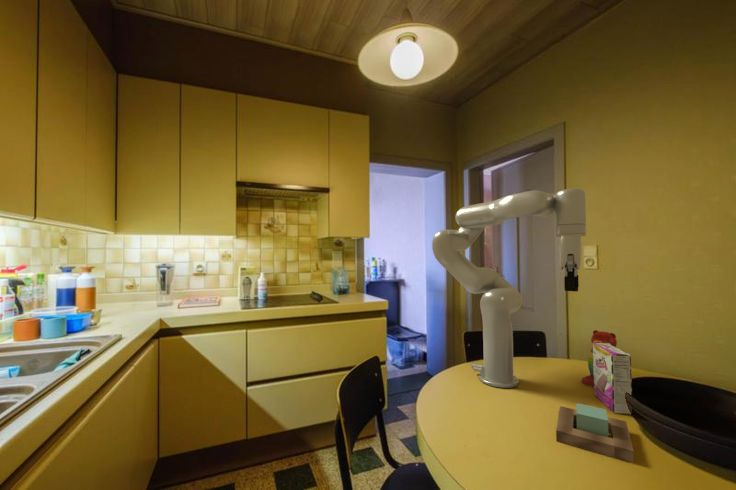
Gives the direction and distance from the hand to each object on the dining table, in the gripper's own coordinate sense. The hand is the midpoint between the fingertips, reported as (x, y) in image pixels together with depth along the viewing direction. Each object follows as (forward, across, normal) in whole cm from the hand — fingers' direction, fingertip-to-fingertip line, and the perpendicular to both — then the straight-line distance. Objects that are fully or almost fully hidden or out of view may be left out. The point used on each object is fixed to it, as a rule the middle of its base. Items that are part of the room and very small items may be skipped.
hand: (571, 289), depth 93 cm
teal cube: (+33, +17, +4) cm, 38 cm away
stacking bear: (+34, -20, +8) cm, 40 cm away
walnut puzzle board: (+33, +17, +4) cm, 38 cm away
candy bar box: (+34, -5, +9) cm, 35 cm away
